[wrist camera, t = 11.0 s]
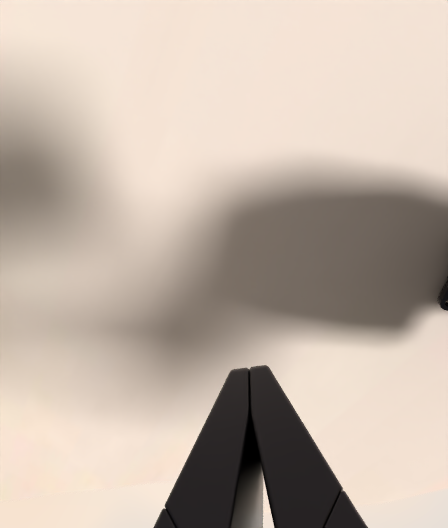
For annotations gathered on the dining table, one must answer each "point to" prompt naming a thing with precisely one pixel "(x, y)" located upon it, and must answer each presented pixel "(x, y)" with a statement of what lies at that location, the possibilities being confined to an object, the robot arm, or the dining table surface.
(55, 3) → the dining table surface
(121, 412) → the dining table surface
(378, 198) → the dining table surface
